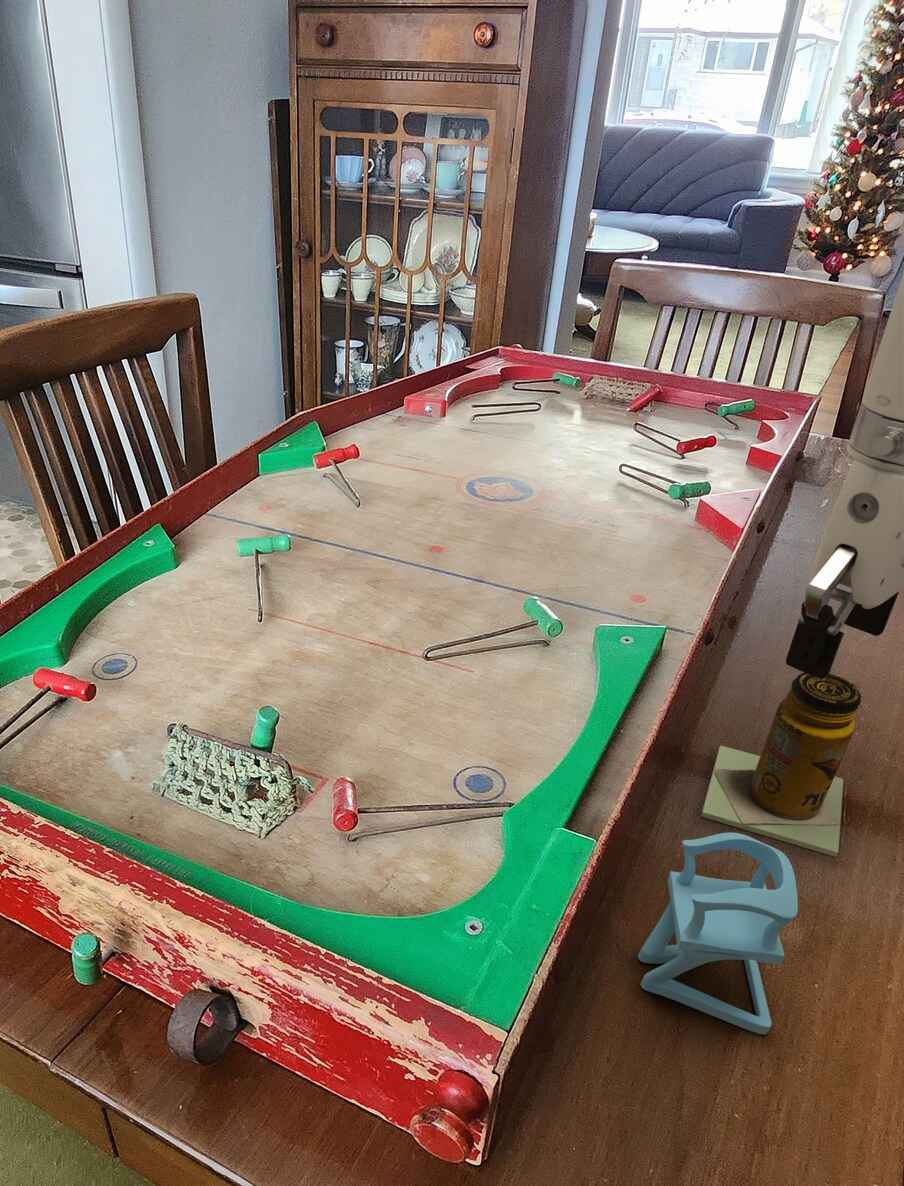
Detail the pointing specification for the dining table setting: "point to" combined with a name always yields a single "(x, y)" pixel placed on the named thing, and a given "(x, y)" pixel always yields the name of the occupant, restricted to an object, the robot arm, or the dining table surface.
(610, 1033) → the dining table surface
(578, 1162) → the dining table surface
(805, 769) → the condiment
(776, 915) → the chair
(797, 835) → the mat
